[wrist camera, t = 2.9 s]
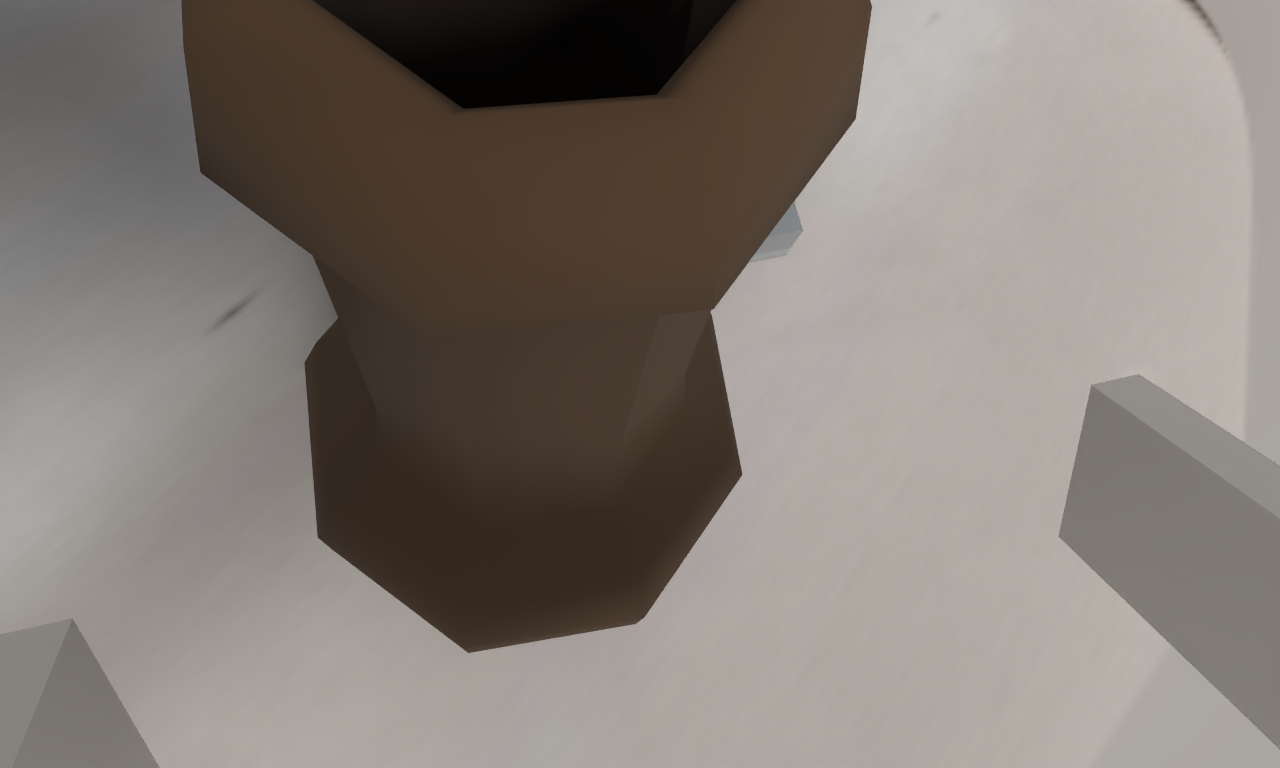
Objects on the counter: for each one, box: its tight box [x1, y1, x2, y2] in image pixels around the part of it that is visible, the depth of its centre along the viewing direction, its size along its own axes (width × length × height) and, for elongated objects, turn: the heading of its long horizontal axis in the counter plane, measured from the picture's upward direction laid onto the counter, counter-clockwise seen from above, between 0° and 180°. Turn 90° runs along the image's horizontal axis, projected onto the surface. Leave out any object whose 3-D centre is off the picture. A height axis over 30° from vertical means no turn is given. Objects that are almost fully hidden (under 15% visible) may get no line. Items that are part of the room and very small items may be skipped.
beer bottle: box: [182, 0, 872, 653], centre depth 15 cm, size 8×8×24 cm
